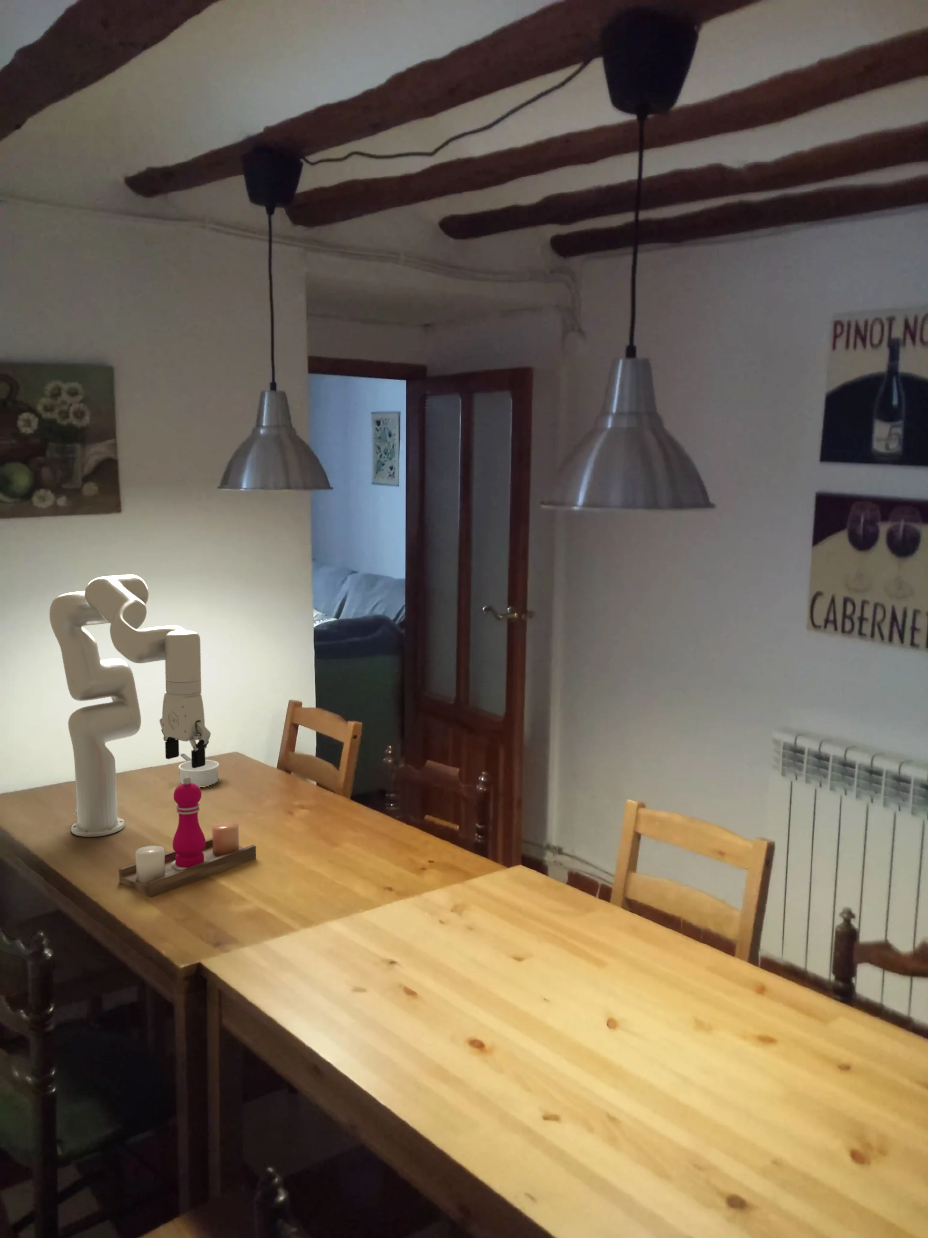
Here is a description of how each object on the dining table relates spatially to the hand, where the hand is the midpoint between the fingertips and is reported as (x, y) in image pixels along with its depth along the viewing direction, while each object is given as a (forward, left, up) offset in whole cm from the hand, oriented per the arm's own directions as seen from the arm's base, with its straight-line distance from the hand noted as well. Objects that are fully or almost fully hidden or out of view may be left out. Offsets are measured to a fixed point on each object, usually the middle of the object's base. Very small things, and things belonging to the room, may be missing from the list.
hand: (185, 762), depth 222 cm
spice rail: (0, 0, -25) cm, 25 cm away
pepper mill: (0, 0, -24) cm, 24 cm away
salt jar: (0, -10, -24) cm, 26 cm away
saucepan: (-56, +41, -26) cm, 74 cm away
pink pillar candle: (0, +10, -24) cm, 26 cm away
